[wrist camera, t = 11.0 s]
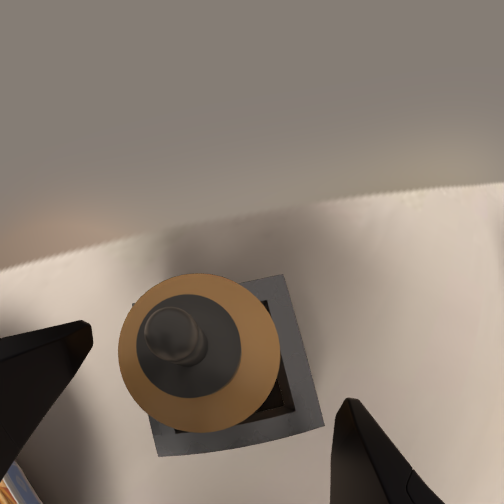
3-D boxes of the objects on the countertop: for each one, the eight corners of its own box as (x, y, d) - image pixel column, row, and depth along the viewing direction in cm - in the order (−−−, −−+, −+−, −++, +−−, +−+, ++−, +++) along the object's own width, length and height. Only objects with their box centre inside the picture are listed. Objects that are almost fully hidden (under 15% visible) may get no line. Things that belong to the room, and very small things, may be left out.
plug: (271, 370, 17) (351, 312, 4) (231, 415, 16) (178, 505, 3) (224, 332, 18) (172, 179, 5) (184, 375, 17) (27, 324, 4)
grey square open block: (275, 299, 19) (283, 274, 15) (306, 417, 16) (324, 425, 12) (155, 322, 18) (132, 303, 14) (178, 442, 15) (158, 456, 11)
